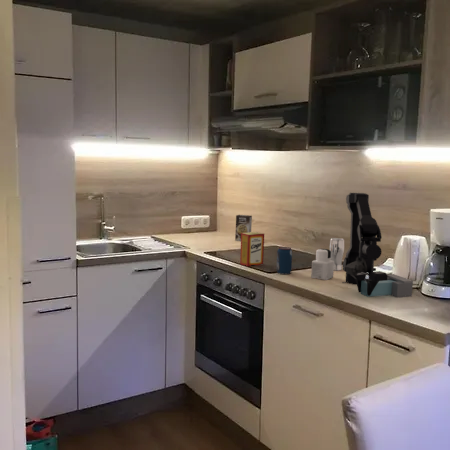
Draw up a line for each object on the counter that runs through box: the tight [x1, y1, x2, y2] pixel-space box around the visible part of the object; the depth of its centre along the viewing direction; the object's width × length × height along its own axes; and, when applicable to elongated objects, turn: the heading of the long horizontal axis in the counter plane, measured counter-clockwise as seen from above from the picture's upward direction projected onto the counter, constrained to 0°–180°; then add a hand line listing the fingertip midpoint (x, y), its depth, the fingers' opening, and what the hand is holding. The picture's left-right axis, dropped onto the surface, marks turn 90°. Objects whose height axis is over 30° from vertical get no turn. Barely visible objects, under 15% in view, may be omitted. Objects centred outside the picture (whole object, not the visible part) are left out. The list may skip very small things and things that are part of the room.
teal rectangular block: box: [360, 280, 396, 298], centre depth 215 cm, size 5×14×5 cm, turn 110°
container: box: [310, 248, 335, 281], centre depth 246 cm, size 8×8×13 cm
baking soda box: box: [239, 231, 265, 267], centre depth 271 cm, size 10×6×16 cm
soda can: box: [275, 246, 293, 275], centre depth 253 cm, size 7×7×12 cm
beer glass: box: [329, 237, 345, 272], centre depth 265 cm, size 7×7×15 cm
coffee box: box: [234, 214, 253, 242], centre depth 345 cm, size 9×6×16 cm
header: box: [387, 273, 414, 298], centre depth 217 cm, size 12×7×7 cm, turn 20°
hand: (364, 293), depth 213 cm, fingers closed on teal rectangular block, 5 cm apart
